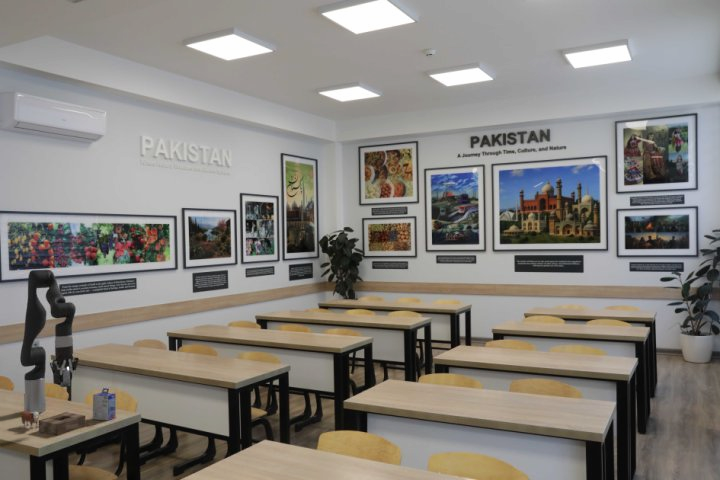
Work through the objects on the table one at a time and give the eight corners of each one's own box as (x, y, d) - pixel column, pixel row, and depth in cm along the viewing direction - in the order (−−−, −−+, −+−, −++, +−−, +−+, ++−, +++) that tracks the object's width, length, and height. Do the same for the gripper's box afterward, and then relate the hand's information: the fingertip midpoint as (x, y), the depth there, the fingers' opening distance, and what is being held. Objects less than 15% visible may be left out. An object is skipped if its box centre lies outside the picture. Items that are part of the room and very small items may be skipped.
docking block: (38, 431, 265) (38, 420, 265) (66, 422, 277) (66, 412, 277) (58, 435, 258) (57, 424, 258) (85, 426, 271) (85, 415, 271)
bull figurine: (34, 431, 265) (34, 413, 265) (19, 426, 272) (18, 409, 272) (43, 428, 269) (43, 411, 269) (28, 423, 276) (28, 407, 276)
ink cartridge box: (116, 417, 283) (116, 388, 283) (108, 421, 278) (107, 391, 278) (100, 416, 286) (100, 387, 286) (92, 419, 281) (91, 390, 281)
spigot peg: (58, 386, 269) (58, 367, 269) (66, 384, 272) (65, 365, 272) (64, 387, 267) (63, 368, 267) (71, 385, 270) (71, 366, 271)
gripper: (72, 342, 278) (73, 377, 278) (44, 347, 265) (45, 384, 265) (82, 343, 274) (83, 378, 274) (55, 348, 262) (56, 385, 262)
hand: (65, 381), depth 270 cm, fingers closed on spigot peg, 4 cm apart
